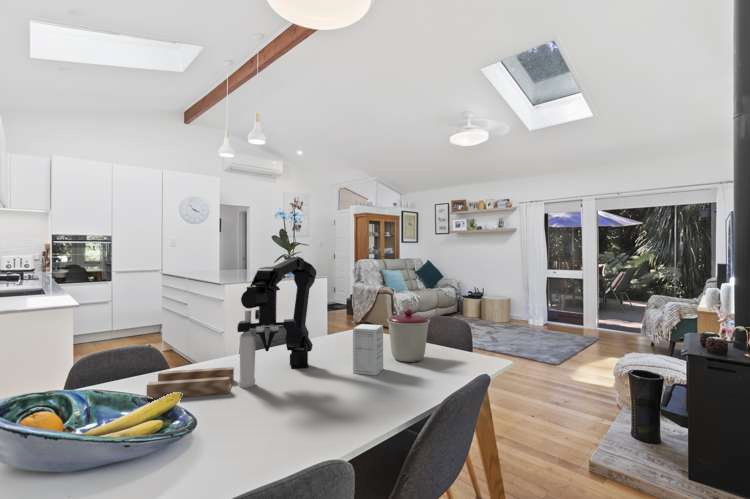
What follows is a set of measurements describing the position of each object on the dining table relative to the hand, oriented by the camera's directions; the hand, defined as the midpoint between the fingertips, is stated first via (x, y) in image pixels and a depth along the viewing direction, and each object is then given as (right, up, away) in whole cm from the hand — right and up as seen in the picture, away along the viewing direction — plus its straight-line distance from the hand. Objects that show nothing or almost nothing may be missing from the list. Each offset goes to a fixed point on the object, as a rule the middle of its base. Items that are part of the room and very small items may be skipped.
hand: (267, 350), depth 126 cm
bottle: (-6, -11, -2) cm, 13 cm away
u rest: (-22, -11, -6) cm, 25 cm away
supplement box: (+34, -12, +15) cm, 39 cm away
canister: (+51, -12, +31) cm, 61 cm away
